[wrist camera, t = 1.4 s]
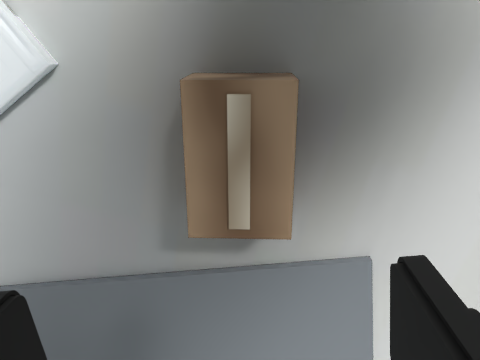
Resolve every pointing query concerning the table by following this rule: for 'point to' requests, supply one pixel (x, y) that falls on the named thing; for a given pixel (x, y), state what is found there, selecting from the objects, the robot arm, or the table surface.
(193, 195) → the card box
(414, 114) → the table surface
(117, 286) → the mat
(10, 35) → the external hard drive
